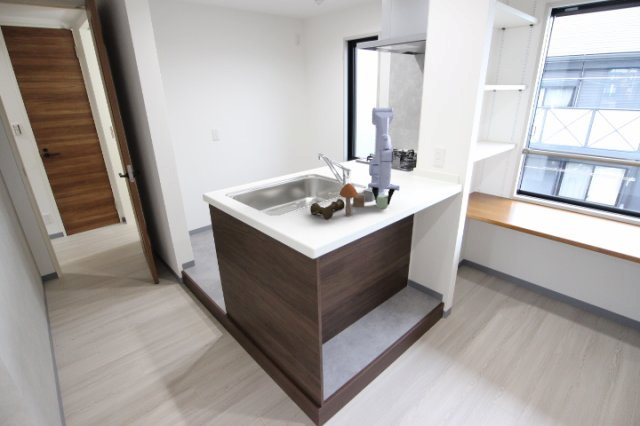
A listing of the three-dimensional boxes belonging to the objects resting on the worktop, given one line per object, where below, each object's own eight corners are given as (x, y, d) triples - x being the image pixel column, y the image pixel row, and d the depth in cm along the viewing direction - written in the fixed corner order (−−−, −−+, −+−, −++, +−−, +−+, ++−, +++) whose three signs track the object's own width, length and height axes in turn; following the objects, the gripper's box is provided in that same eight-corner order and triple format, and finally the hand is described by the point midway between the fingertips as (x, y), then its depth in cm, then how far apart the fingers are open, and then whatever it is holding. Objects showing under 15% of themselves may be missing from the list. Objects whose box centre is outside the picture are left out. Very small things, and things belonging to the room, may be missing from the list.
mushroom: (342, 219, 139) (343, 186, 133) (336, 213, 146) (336, 181, 140) (359, 217, 141) (360, 184, 135) (353, 211, 148) (353, 179, 142)
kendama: (349, 211, 149) (319, 223, 135) (333, 207, 155) (303, 218, 141) (349, 199, 147) (319, 210, 133) (333, 195, 153) (303, 205, 139)
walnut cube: (354, 203, 158) (354, 193, 156) (364, 204, 157) (364, 194, 155) (352, 207, 153) (353, 197, 151) (363, 207, 152) (363, 197, 150)
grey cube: (368, 197, 166) (368, 187, 165) (376, 198, 164) (377, 189, 162) (363, 199, 163) (363, 190, 161) (372, 201, 160) (372, 192, 158)
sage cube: (378, 203, 157) (379, 194, 155) (388, 205, 155) (389, 195, 153) (376, 207, 152) (376, 197, 150) (386, 208, 150) (387, 198, 149)
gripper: (367, 176, 147) (365, 204, 152) (398, 179, 142) (396, 207, 147) (370, 172, 153) (369, 199, 158) (401, 175, 148) (399, 202, 153)
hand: (382, 203), depth 153 cm, fingers closed on sage cube, 5 cm apart
